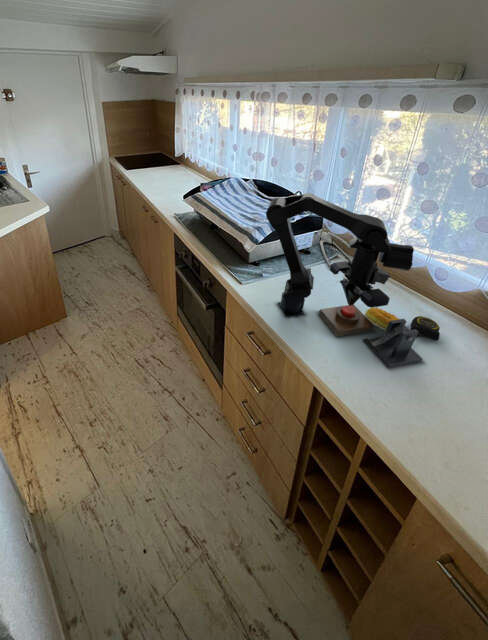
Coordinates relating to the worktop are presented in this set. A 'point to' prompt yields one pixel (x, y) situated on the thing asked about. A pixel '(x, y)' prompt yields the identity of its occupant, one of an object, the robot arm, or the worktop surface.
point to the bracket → (398, 346)
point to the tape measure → (426, 327)
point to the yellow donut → (379, 317)
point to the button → (348, 311)
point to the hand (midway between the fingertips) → (350, 304)
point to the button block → (346, 321)
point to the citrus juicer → (326, 238)
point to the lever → (385, 338)
